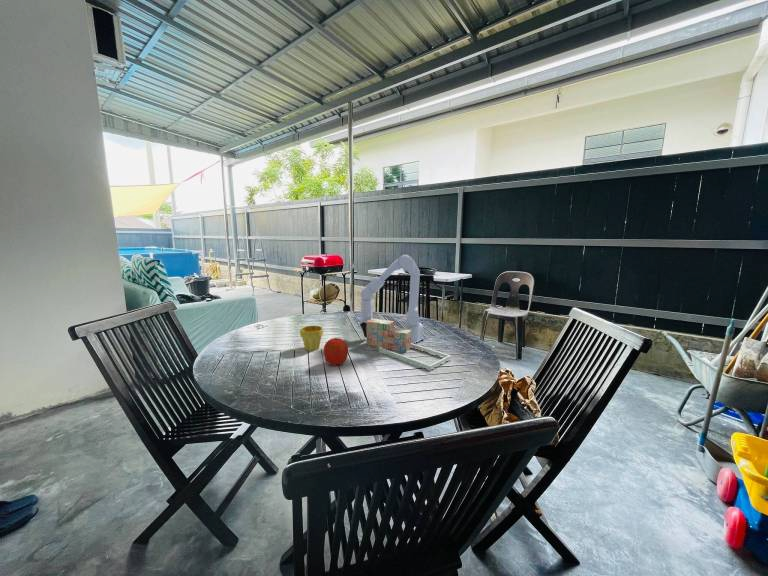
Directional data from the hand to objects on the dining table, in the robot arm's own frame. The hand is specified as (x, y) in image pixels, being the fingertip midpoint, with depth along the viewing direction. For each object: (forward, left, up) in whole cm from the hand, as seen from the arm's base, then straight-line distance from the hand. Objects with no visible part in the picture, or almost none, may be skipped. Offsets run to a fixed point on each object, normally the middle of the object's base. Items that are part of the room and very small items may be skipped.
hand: (366, 336), depth 160 cm
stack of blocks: (0, +15, -2) cm, 15 cm away
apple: (+30, +13, -2) cm, 33 cm away
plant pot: (+27, -9, -2) cm, 29 cm away
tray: (0, +30, -1) cm, 30 cm away
